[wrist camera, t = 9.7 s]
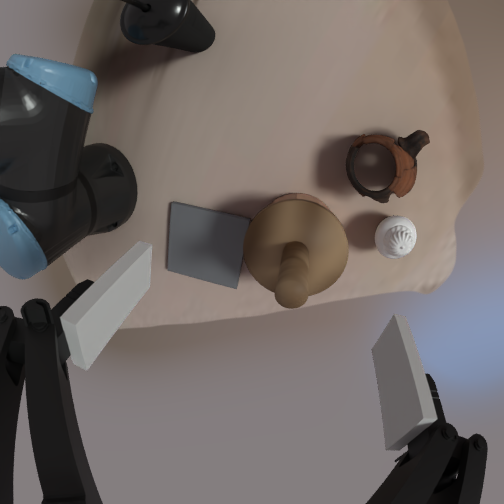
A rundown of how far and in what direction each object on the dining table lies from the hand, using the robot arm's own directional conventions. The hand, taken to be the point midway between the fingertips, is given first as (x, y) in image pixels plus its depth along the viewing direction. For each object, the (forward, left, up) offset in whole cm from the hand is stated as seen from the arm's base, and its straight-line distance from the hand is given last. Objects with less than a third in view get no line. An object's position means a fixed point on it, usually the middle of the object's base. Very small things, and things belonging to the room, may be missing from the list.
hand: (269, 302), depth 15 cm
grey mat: (-11, -13, -28) cm, 32 cm away
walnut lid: (+2, -7, -22) cm, 23 cm away
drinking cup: (-17, +18, -28) cm, 37 cm away
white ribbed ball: (+15, -3, -28) cm, 32 cm away
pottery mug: (+12, +6, -28) cm, 31 cm away
